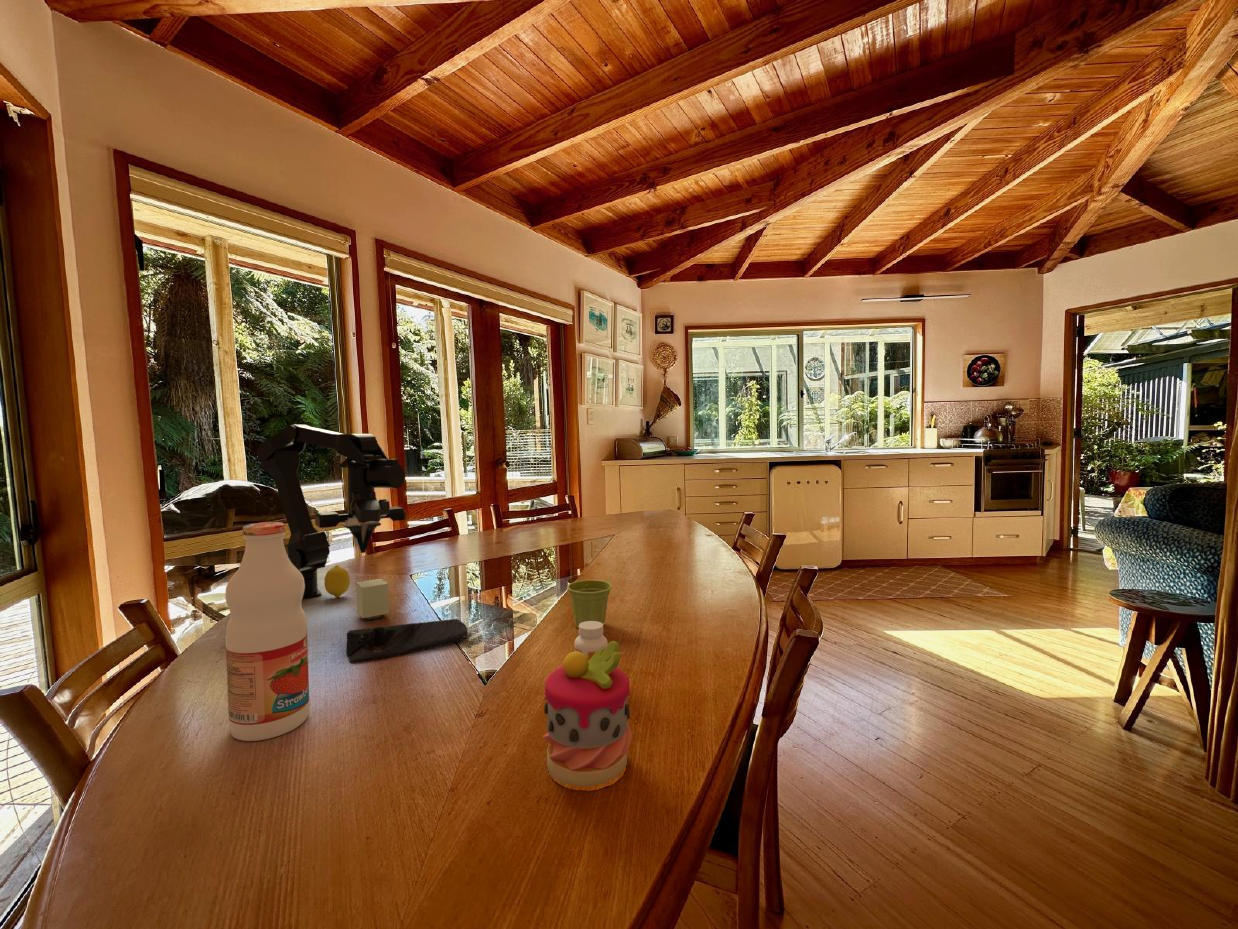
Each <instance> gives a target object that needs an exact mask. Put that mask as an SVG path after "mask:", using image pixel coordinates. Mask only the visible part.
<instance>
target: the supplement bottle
mask: <svg viewBox="0 0 1238 929" xmlns="http://www.w3.org/2000/svg"><path fill="white" fill-rule="evenodd" d="M608 644H609V643H608V639H607V638H606V637H605V636H604V627H603V624H602V623H601V622H597V621H586V622H582V623H580V624H579V629H578V636H577V637H576V638H575V639H574V651H579V652H581V653H583V654H585V656H586V657H587V659H588V661H589V660H590V659H591V658H592V656H593V655H594V654H595V653H596V651H598V650H599V649H601V650H603V651H604V650H605V648H606V647H607V645H608ZM574 651H573V652H574Z"/></svg>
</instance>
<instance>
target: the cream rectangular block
mask: <svg viewBox="0 0 1238 929" xmlns="http://www.w3.org/2000/svg"><path fill="white" fill-rule="evenodd" d="M389 605H390V604H389V582H387V581H385V580H384V579H383V578H377V579H371V580H370V579H369V580H363V581H357V582H356V613H358V615H359V616H360V617H361V618H362V619H367V617H372V616H377V615H381V616H382V615H387V614H389V612H390V611H389V608H390V606H389Z"/></svg>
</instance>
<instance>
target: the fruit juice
mask: <svg viewBox="0 0 1238 929" xmlns="http://www.w3.org/2000/svg"><path fill="white" fill-rule="evenodd" d="M286 528H287V527H286V524H285V523H284V522H282V521H281V522H279V521H272V522H271V521H269V522H268V521H267V522H266V521H265V522H257V523H255V522H254V523H250V524H246V525H244V526H242V531H241V533H242V539H243V540H245V548H244V553H243V557H242V559H241V562H240V565H239V567H238V569H237V570H236V571H235V573H234V574H233V576H231V577H230V579H229V580H228V582H227V584H226V587H225V593H224V594H225V595H224V598H225V602H226V605H227V607H228V610H229V612H230V613H229V614H230V617H229V620H228V622H227V624H226V628H225V653H226V656H225V657H226V680H227V681H226V682H227V684H226V685H227V705H228V706H227V710H228V712H227V713H228V728H229V733H230V735H231V736H232V738H234V739H236V740H239V741H243V742H257V741H264V740H268V739H272V738H277V737H280V736H282V735H284V734H287V733H289V732H291V731H293V730H295V729H298V727H299V726H301V725H302V724H303V723H304V722H305V721H306V720H307V718H308V715H309V713H310V683H309V682H310V681H309V679H310V678H309V676H310V675H309V673H310V672H309V645H308V644H309V643H308V641H309V640H308V621H307V615H306V612H305V610H304V609H303V605H302V602H303V599H304V598H303V594H304V590H305V583H304V578H303V575H302V574H301V572H300V571H299V570H298V569H297V568H296V567H295V566H294V565H293V564H292V562H291V561H290V559H289V557H288V555H289V554H288V551H287V550H286V547H285V544H284V537H285V536H286V531H287V529H286Z"/></svg>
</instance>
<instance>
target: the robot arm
mask: <svg viewBox="0 0 1238 929" xmlns="http://www.w3.org/2000/svg"><path fill="white" fill-rule="evenodd" d="M307 444H308V445H313V446H317V447H323V448H325V449H331V450H334V451H335V452H336V453H337V454H338V455H340V456H342V457H344V458H345V459H344V460H343V461H342V462H341V463H340V464H339V466H338V467H339V468H342V469H344V468H345V469H346V477H347V478H346V482H347V483H346V485H347V491H346V492H347V493H346V494H347V513H341V514H339V513H337V512H336V511H325V512H324V511H323V512H317V513H316V514H315V516H314V525H315V526H316V527H317V528H321V529H324V528H325V529H326V528H334V527H337V526H338V525H339V524H340V523H342V526H343V527H344V528H346V529H348V530H349V531H350V533H351V535H352V536H353V539H354V541H355V544H356V546H357V547H358V550H359V553H360V554H365V553H366V551H367V548H368V544H369V543H370V539H371V537H372V535H373V533H374V530H375V529H376V528H377V527H380V526H381V525H382V523H381V522H380V521H381V519H390V520H391V521H392V522H397V521H398V522H399V521H405V520H407V513H406V509H404V507H400V506H390V500H389V498H383V499H382V498H381V499H379V500H378V499H377V495H376V491H375V489H376V488H378V489H396V490H397V489H400V488H401V487H402V486H403V485H404V483H405V480H406V472H405V469H404V467H402V465H401V464H400V463H399V459H398V458H388V456H387V455H386V454H385V452H384V450H383V449H382V447H381V445H380V444H379V443H378V440H377V437H376V436H375V435H373V434H372V433H342V432H341V433H340V432H337V431H332V430H327V429H324V428H318V427H315V426H313V427H312V426H310V425H308V424H290V425H287V426H286V427H285V428H284V429H282V430H281V431H279V432H277V433H276V434H274V435H271V436H270V437H268V438H267V439H266V440H265V441H263V442H262V443H260V445H259V447H258V448H257V450H256V456H257V458H258V461H259V463H260V465H261V468H262V469H263V471H265V473H267V474H268V475H270V476H271V478H273V481H274V484H275V486H276V490H277V493H278V497H279V499H280V502H281V507H282V510H283V512H284V515H285V519H286V522H287V526H288V529H289V532H290V536H289V540H288V542H287V555H288V557H289V559H290V561H291V562H292V564H293V565H294V566H295V567H296V568H297V569H298V570H299V571H300V572H301V574H302V575H303V578H304V583H305V590H304V594H303V598H302V599H306V598H307V599H308V598H312V597H319V596H322V592H321V591H320V590H319V588H318V587H319V586H318V569H322V568H325V567H326V563H327V560H328V557H329V555H330V553H331V552H330V547H331V544H330V543H329V541H328V535H327V533H326V532H325V531H323V530H322V531H318V530H317V529H316V528H315V527H314V525H313V521H312V518H311V515H310V511H309V509H308V505H307V502H306V500H305V499H306V498H305V497H304V493H303V488H302V486H301V482H300V479H299V476H298V470H299V466H300V463H301V460H300V459H301V458H300V455H301V454H302V453H303V452H304V451H305V450H306V446H307Z"/></svg>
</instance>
